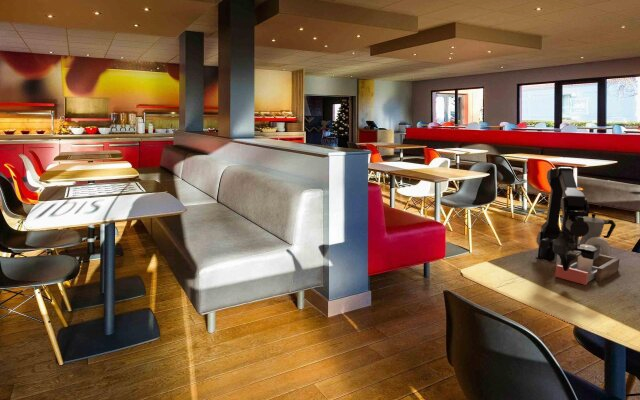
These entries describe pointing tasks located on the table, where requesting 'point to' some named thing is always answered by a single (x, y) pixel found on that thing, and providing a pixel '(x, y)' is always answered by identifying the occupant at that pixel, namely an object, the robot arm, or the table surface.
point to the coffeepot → (596, 229)
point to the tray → (575, 274)
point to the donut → (602, 243)
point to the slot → (603, 266)
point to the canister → (585, 261)
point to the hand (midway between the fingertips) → (565, 270)
